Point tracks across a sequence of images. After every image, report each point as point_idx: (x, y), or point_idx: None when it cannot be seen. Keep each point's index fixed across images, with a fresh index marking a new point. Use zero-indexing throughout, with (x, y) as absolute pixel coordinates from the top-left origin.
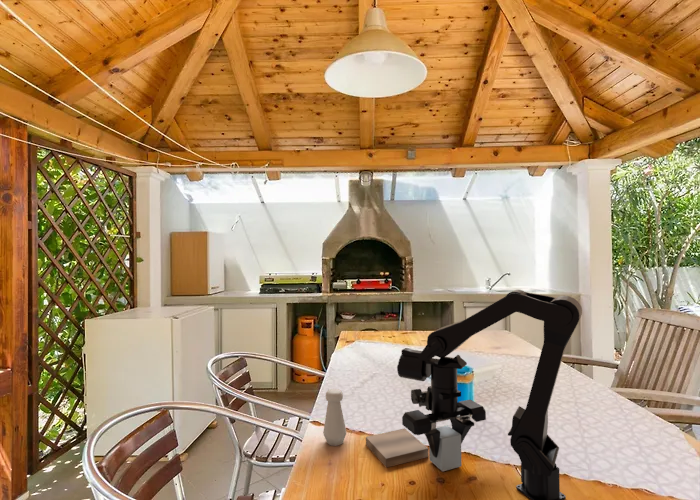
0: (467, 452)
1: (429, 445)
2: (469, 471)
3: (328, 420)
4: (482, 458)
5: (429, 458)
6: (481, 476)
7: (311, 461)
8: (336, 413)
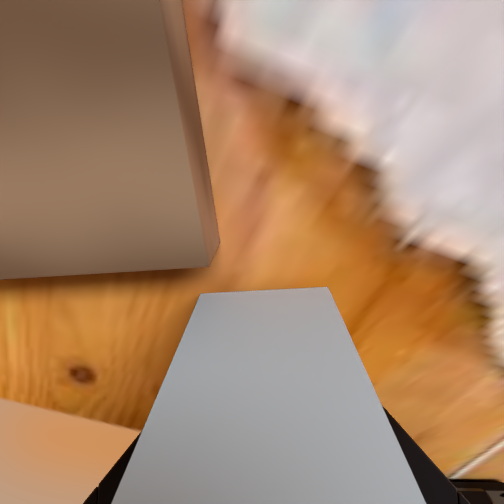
0: (471, 272)
1: (135, 442)
2: None
3: None
4: (482, 339)
5: (198, 299)
6: None
7: None
8: None
